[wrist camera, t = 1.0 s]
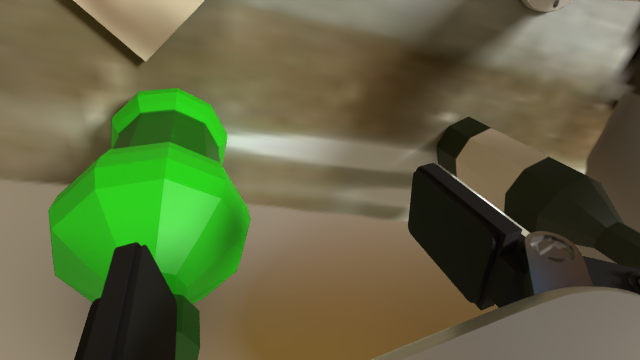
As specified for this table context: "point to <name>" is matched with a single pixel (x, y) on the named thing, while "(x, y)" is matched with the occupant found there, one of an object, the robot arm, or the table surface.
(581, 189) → the wine bottle
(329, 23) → the table surface
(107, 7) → the board
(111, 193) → the plastic bottle
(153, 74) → the table surface
